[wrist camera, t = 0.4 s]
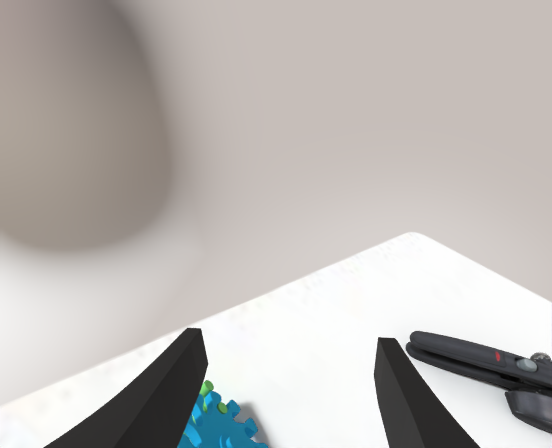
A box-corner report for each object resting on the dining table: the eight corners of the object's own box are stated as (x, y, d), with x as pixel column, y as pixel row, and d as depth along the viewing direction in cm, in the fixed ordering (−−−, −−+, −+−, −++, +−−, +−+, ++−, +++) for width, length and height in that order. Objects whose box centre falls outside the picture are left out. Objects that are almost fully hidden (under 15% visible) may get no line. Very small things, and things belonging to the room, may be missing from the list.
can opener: (561, 389, 34) (594, 362, 31) (584, 454, 29) (627, 429, 26) (404, 327, 40) (419, 299, 37) (399, 372, 34) (416, 343, 31)
